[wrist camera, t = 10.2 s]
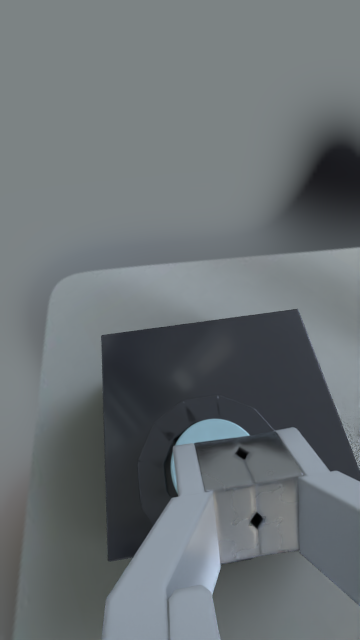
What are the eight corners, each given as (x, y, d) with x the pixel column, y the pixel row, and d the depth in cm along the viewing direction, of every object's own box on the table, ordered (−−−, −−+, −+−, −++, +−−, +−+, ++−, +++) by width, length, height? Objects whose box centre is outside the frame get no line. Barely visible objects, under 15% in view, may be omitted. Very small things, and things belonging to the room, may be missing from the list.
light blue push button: (178, 526, 14) (177, 528, 12) (167, 435, 15) (165, 425, 14) (264, 511, 14) (276, 511, 12) (243, 423, 16) (251, 412, 14)
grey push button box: (129, 559, 19) (98, 586, 12) (119, 373, 25) (93, 319, 18) (329, 524, 20) (406, 531, 13) (274, 351, 26) (307, 291, 19)
